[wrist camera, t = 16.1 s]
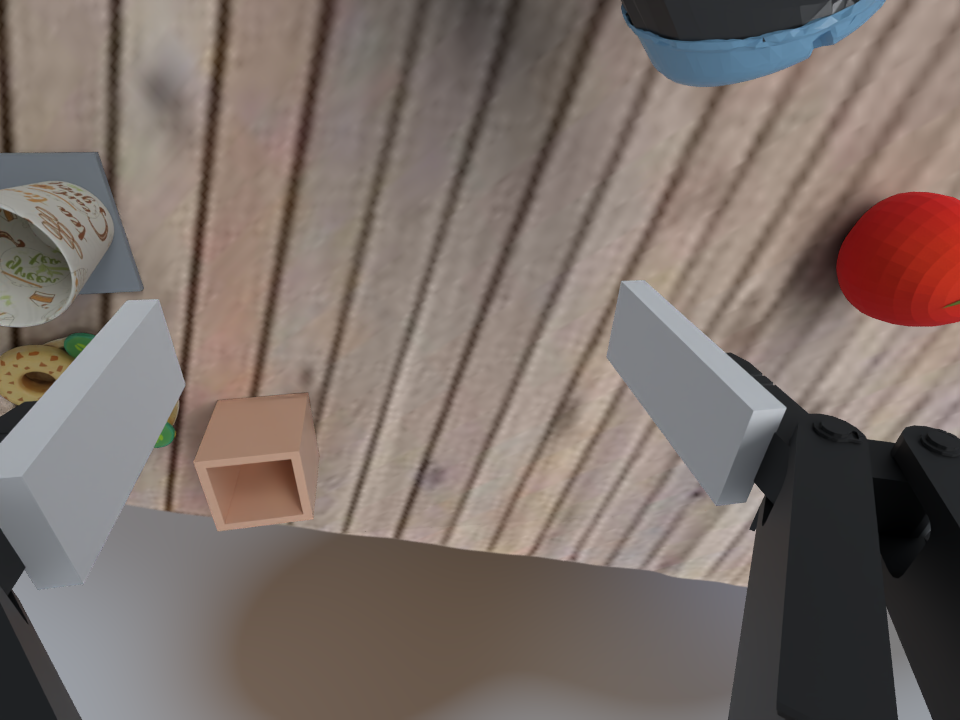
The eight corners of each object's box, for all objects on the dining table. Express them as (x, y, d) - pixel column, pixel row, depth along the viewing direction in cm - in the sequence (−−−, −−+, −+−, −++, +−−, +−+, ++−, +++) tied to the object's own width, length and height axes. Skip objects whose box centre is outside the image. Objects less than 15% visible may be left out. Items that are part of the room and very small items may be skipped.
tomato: (874, 292, 61) (998, 354, 49) (790, 293, 58) (898, 358, 47) (930, 180, 54) (1089, 220, 42) (838, 176, 52) (979, 217, 40)
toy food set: (-13, 341, 45) (-37, 360, 42) (146, 311, 46) (133, 328, 43) (72, 455, 52) (56, 478, 49) (207, 426, 53) (199, 447, 51)
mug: (154, 250, 43) (104, 302, 34) (10, 302, 43) (-75, 367, 34) (82, 147, 38) (5, 178, 30) (-79, 206, 38) (-202, 254, 30)
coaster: (-74, 153, 37) (-80, 155, 37) (97, 152, 39) (94, 153, 39) (-3, 295, 43) (-7, 298, 42) (143, 288, 45) (141, 291, 44)
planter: (217, 400, 52) (193, 462, 44) (308, 392, 53) (299, 451, 46) (236, 465, 56) (217, 531, 49) (319, 456, 58) (313, 519, 50)
